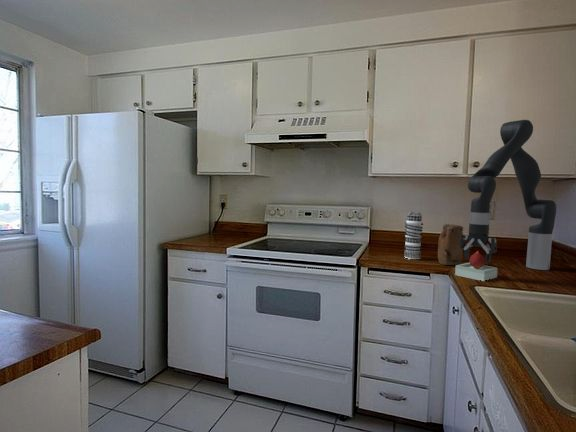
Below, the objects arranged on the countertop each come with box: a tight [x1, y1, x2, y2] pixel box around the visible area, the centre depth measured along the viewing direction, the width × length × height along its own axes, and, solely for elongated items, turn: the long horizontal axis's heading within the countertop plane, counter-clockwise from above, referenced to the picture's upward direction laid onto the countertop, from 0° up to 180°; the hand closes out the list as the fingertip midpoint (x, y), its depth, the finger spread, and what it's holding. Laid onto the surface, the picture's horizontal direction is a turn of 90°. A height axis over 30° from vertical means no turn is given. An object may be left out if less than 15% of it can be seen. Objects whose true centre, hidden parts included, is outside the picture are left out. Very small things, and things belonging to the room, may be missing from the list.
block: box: [437, 223, 464, 266], centre depth 170 cm, size 11×8×20 cm
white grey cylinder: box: [403, 211, 424, 260], centre depth 183 cm, size 9×9×25 cm
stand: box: [454, 262, 499, 282], centre depth 148 cm, size 12×12×4 cm
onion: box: [469, 250, 486, 269], centre depth 147 cm, size 6×6×8 cm
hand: (476, 260), depth 147 cm, fingers open, 8 cm apart
